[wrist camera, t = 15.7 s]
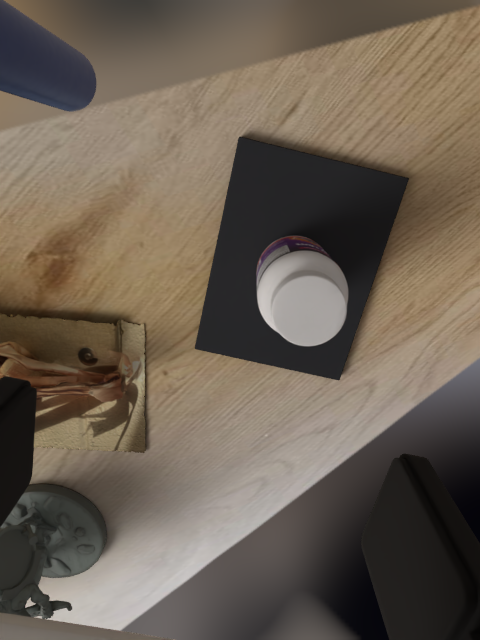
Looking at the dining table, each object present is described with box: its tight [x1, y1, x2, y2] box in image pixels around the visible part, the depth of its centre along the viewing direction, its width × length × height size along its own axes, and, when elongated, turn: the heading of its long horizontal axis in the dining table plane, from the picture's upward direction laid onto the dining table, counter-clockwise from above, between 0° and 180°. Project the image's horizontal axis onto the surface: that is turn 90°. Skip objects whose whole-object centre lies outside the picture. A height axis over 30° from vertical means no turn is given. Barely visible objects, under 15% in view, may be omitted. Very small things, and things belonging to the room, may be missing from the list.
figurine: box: [0, 484, 106, 619], centre depth 36 cm, size 11×11×12 cm
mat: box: [195, 137, 409, 380], centre depth 32 cm, size 16×12×1 cm
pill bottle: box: [256, 236, 348, 346], centre depth 27 cm, size 5×5×10 cm
